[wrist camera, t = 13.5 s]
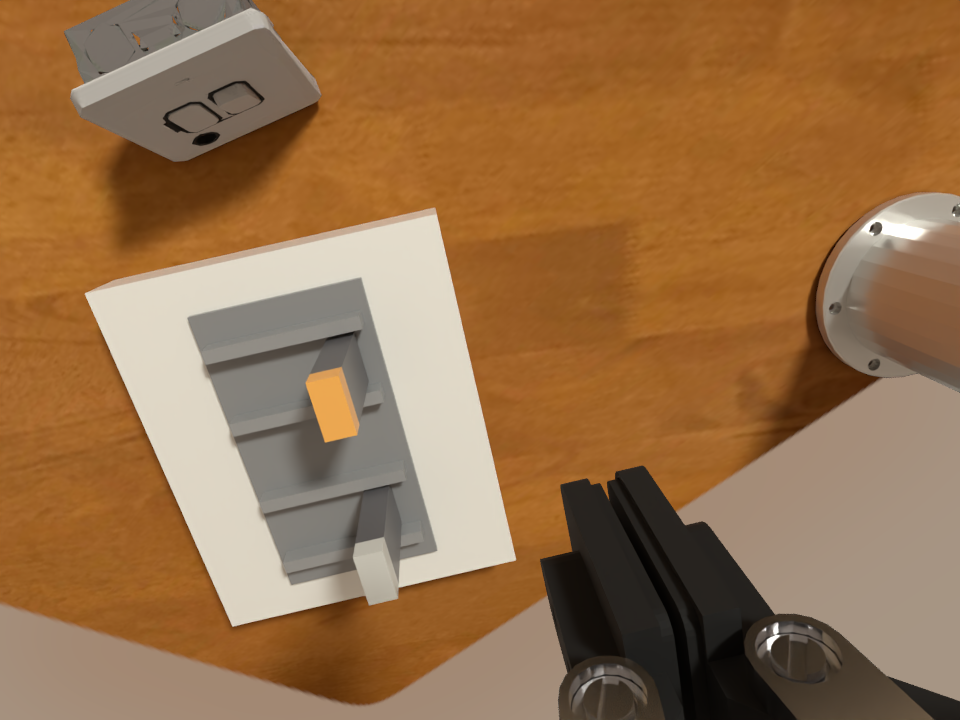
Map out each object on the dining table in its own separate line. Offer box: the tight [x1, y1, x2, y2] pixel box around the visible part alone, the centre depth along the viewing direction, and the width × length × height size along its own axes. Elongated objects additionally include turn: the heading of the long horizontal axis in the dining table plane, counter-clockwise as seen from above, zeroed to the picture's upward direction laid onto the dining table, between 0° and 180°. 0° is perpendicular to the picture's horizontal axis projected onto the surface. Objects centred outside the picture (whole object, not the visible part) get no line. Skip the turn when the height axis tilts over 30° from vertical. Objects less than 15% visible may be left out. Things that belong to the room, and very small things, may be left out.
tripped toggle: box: [305, 332, 369, 443], centre depth 33 cm, size 2×3×7 cm, turn 12°
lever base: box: [85, 208, 516, 626], centre depth 37 cm, size 20×24×11 cm
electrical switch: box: [64, 0, 321, 162], centre depth 31 cm, size 9×5×9 cm, turn 112°
